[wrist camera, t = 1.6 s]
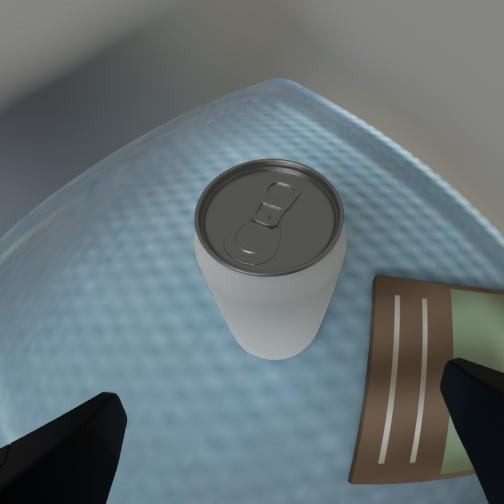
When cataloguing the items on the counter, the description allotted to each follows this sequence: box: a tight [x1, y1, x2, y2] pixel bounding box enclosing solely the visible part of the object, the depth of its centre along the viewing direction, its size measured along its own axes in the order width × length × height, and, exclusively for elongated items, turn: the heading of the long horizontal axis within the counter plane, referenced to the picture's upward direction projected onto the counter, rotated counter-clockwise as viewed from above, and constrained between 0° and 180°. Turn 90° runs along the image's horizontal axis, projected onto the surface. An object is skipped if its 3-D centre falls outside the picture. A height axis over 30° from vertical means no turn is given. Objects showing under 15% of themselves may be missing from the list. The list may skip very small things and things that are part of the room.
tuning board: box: [348, 275, 504, 484], centre depth 16 cm, size 15×17×1 cm
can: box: [194, 159, 347, 360], centre depth 16 cm, size 6×6×12 cm
